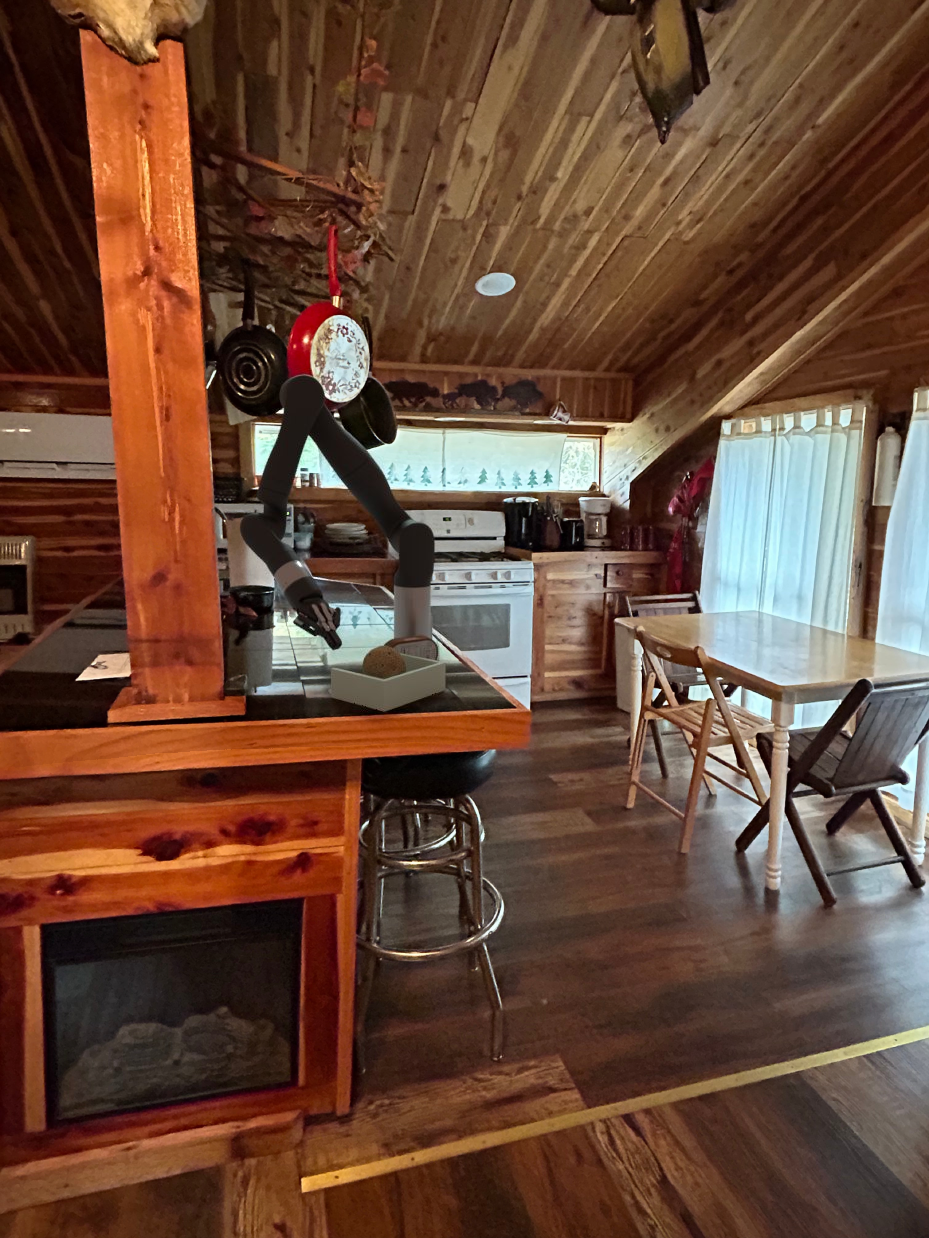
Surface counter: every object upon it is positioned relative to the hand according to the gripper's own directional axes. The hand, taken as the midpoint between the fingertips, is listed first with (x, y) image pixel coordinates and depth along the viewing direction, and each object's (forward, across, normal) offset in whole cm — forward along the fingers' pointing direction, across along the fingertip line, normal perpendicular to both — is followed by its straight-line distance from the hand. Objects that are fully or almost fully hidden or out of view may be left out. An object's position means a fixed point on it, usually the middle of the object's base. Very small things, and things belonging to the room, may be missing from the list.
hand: (337, 647), depth 164 cm
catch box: (+16, 0, -5) cm, 17 cm away
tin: (+11, +15, 0) cm, 19 cm away
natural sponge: (+15, 0, -4) cm, 16 cm away
